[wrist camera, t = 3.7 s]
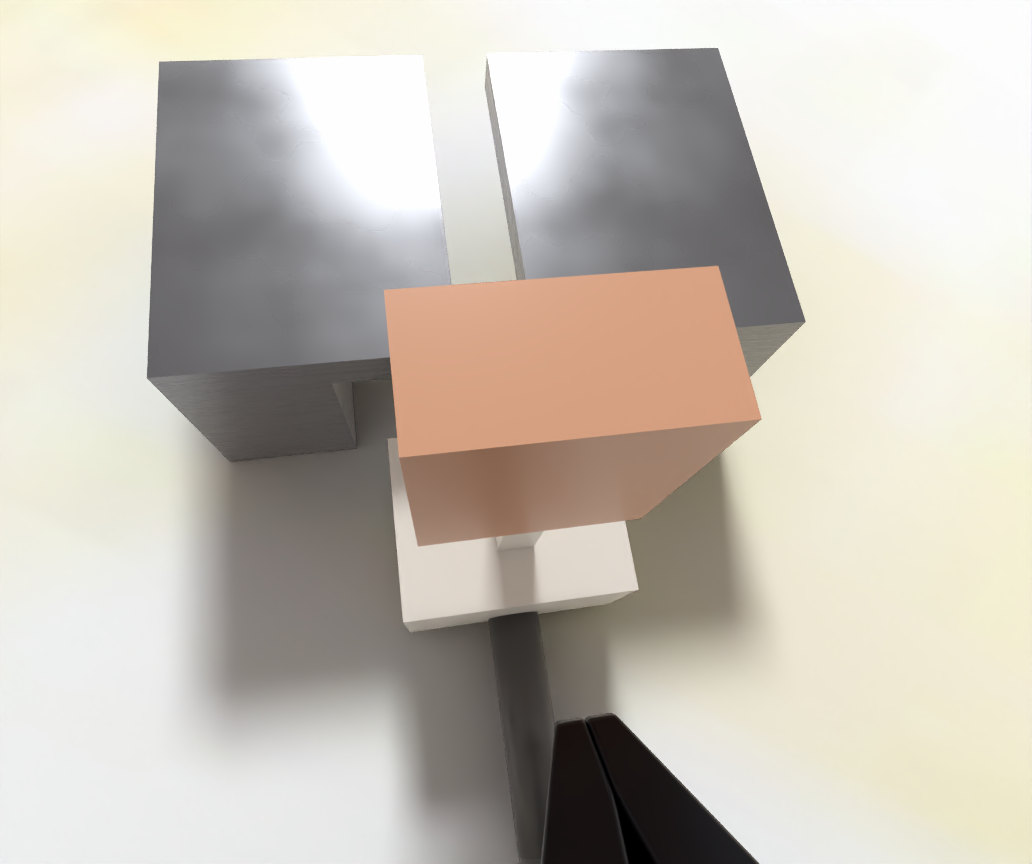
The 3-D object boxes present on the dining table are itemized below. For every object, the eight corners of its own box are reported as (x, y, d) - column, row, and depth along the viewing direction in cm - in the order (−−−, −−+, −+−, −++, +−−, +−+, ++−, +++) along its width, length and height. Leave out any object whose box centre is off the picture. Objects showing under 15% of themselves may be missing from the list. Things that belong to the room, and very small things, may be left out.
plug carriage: (653, 853, 15) (1033, 1174, 5) (433, 897, 15) (409, 1352, 5) (580, 456, 19) (736, 195, 9) (396, 476, 18) (333, 218, 8)
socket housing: (715, 411, 20) (805, 321, 15) (229, 461, 18) (147, 378, 13) (657, 187, 22) (717, 48, 17) (228, 210, 21) (159, 61, 16)
